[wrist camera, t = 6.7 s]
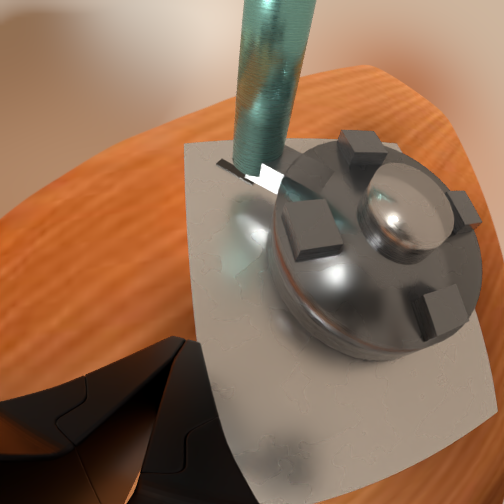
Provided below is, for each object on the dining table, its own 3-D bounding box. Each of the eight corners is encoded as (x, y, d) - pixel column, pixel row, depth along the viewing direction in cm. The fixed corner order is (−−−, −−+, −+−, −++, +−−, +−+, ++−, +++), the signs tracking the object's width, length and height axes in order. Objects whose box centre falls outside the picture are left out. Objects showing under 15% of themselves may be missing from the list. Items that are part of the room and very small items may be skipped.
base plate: (478, 414, 13) (498, 411, 12) (227, 506, 11) (227, 520, 9) (387, 159, 24) (397, 142, 22) (186, 163, 21) (184, 142, 19)
